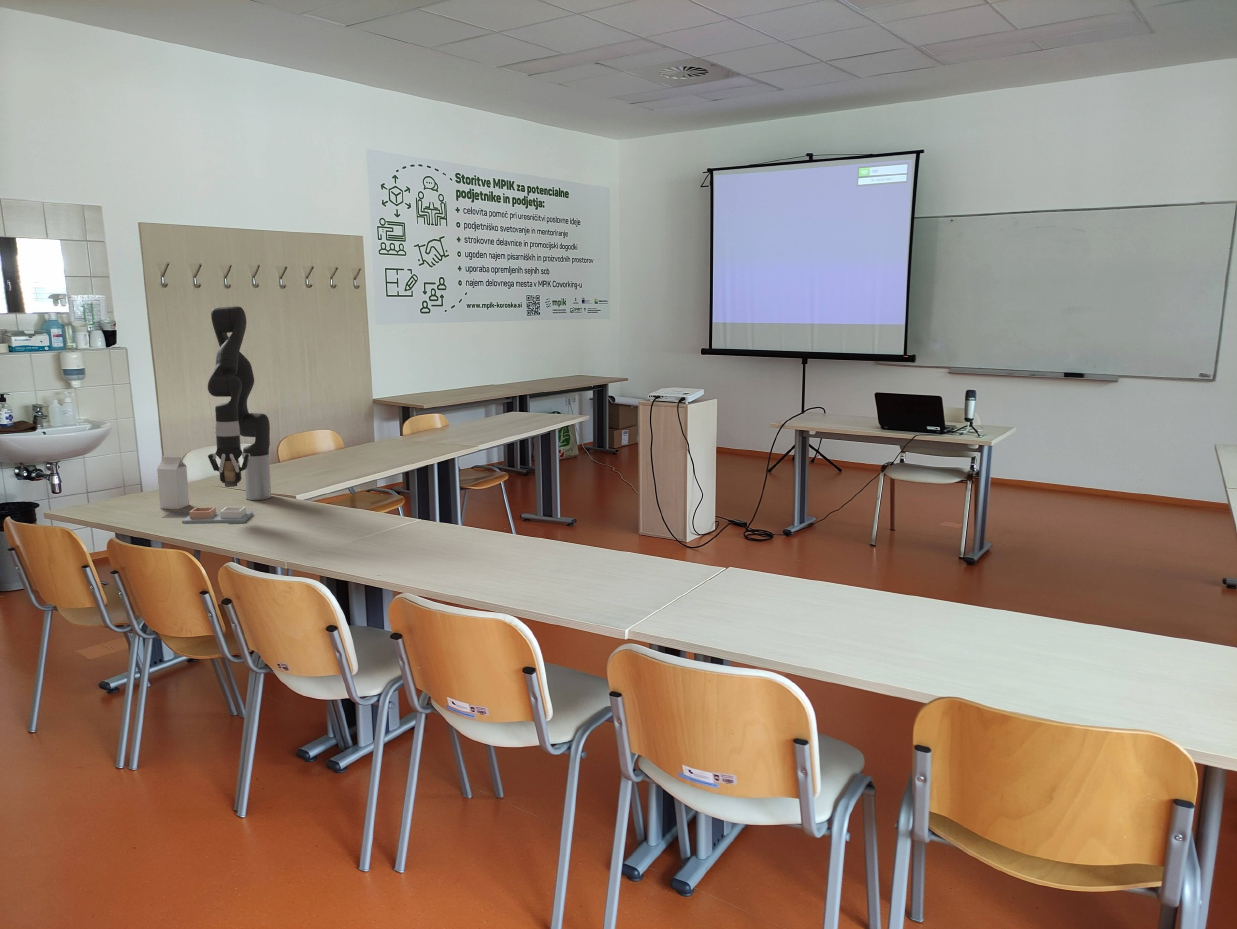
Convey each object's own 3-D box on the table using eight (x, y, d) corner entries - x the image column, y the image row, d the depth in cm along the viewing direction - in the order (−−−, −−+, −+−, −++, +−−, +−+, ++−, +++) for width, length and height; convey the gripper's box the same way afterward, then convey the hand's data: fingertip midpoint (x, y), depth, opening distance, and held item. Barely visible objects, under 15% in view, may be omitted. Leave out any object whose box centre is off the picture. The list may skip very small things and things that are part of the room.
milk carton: (179, 509, 311) (175, 458, 307) (160, 509, 311) (156, 458, 307) (189, 505, 318) (185, 455, 314) (170, 504, 318) (166, 454, 314)
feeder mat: (171, 512, 306) (170, 511, 306) (197, 512, 308) (197, 511, 308) (161, 518, 298) (161, 517, 297) (189, 518, 299) (189, 517, 299)
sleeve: (226, 484, 298) (225, 459, 297) (238, 484, 299) (237, 459, 297) (223, 487, 294) (221, 461, 293) (235, 486, 295) (234, 461, 293)
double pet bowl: (193, 515, 302) (193, 505, 302) (253, 514, 305) (252, 504, 305) (182, 524, 291) (181, 513, 290) (243, 522, 294) (243, 512, 293)
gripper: (252, 432, 298) (255, 480, 301) (209, 432, 296) (212, 480, 299) (246, 435, 291) (249, 484, 294) (202, 435, 289) (205, 484, 292)
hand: (230, 482), depth 296 cm, fingers closed on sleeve, 4 cm apart
